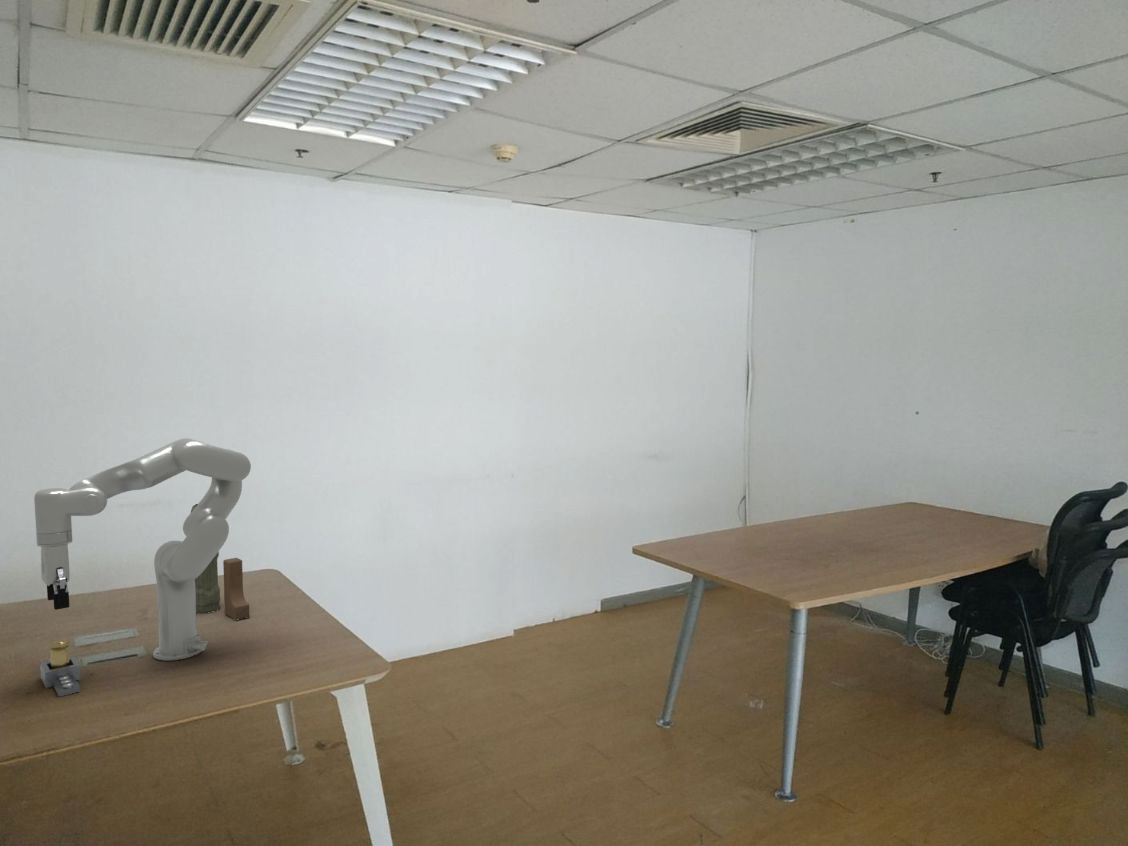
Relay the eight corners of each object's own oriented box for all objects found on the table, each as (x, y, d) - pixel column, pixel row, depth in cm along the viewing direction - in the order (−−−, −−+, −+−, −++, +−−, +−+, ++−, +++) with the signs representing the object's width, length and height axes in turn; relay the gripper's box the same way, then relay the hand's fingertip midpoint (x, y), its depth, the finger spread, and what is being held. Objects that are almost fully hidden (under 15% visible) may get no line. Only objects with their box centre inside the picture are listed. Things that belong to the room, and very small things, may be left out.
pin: (77, 676, 200) (75, 639, 199) (60, 684, 195) (58, 645, 194) (61, 674, 201) (59, 637, 200) (44, 682, 196) (42, 644, 195)
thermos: (198, 616, 246) (194, 508, 243) (185, 608, 255) (182, 503, 252) (226, 610, 252) (223, 505, 250) (212, 602, 261) (210, 500, 258)
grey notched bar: (87, 690, 192) (86, 674, 191) (51, 698, 187) (50, 682, 186) (69, 661, 209) (69, 647, 209) (36, 669, 204) (35, 654, 204)
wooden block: (250, 617, 246) (248, 562, 244) (235, 621, 243) (234, 565, 241) (238, 611, 252) (236, 557, 251) (224, 614, 249) (222, 559, 248)
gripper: (31, 533, 199) (35, 598, 200) (42, 546, 186) (46, 615, 187) (65, 529, 204) (69, 592, 205) (78, 541, 191) (82, 608, 192)
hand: (58, 603), depth 196 cm, fingers open, 9 cm apart
